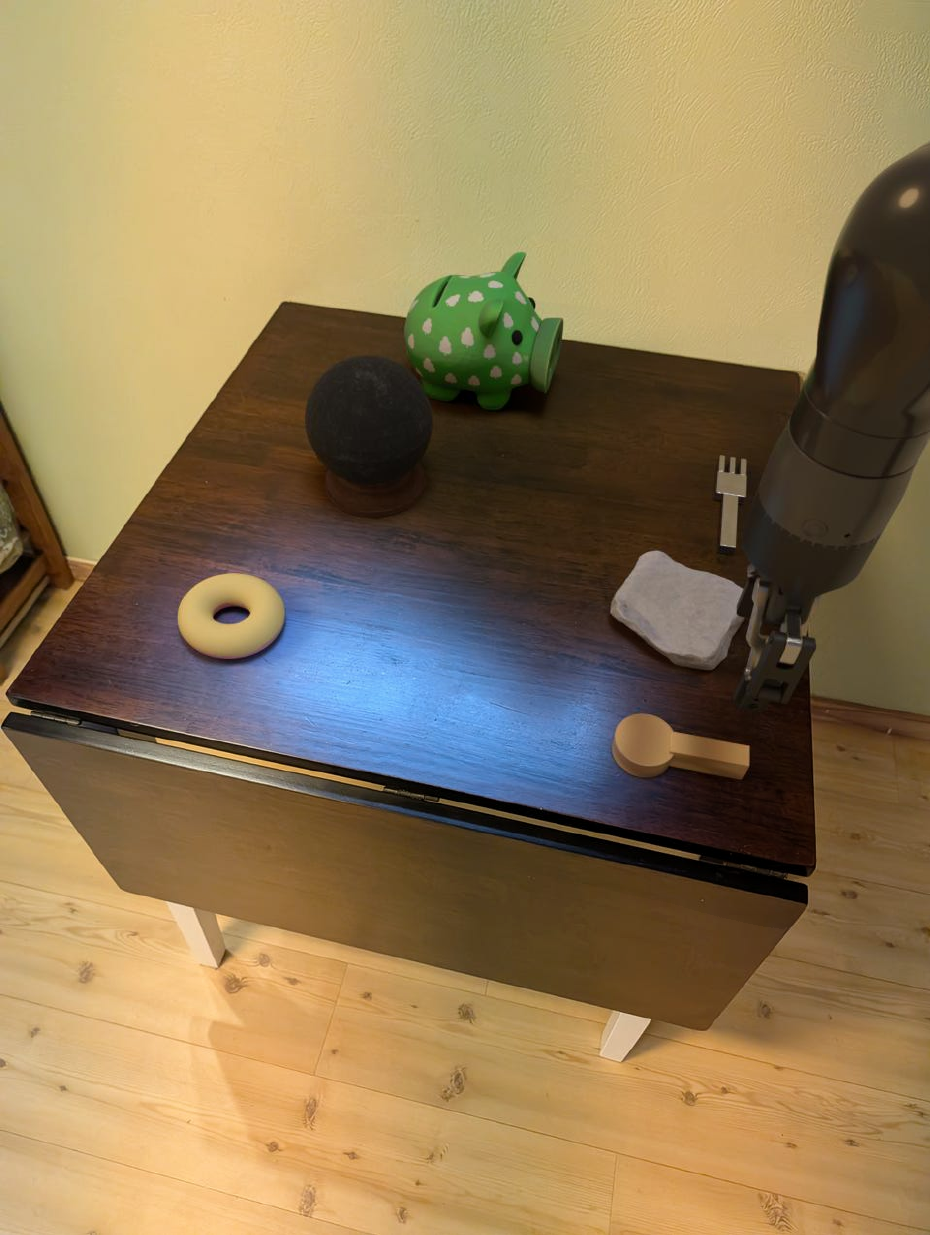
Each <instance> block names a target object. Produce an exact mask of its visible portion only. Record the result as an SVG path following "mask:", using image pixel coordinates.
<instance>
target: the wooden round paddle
mask: <svg viewBox="0 0 930 1235" xmlns="http://www.w3.org/2000/svg"><path fill="white" fill-rule="evenodd" d="M611 753H612V756H613V758H614V761H615V762H616V764H617V765H618V766H619V767H620V768H621V769H622V770H623V771H624V772H626V773H627V774H630V775H632V776H635V777H638V778H643V779H644V778H645V779H647V778H654V777H657V776H660V775H662V774H664V772H666V771H667V770H668V769H669V767H673V768H678V769H682V770H689V771H693V772H699V773H704V774H709V775H714V776H719V777H725V778H731V779H735V780H740V781H741V780H743V778H744V777H745V775H746V773H747V772H748V769H749V768H750V745H746V744H741V743H738V742H737V743H736V742H732V741H725V740H721V739H715V738H709V737H705V736H698V735H692V734H687V733H683V732H677V731H674V730H673V728H672V727H671V726H670V725H669V724H668V722H666V721H665V720H664V719H662V718H660V717H659V716H656V715H654V714H652V713H651V714H650V713H640V712H639V713H634V714H631V715H628V716H625V717H624V718H623V719H622V720H621V721H620V722H619V723H618V725H617V726H616V729H615V733H614V735H613V739H612V743H611Z"/></svg>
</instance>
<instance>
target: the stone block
mask: <svg viewBox="0 0 930 1235" xmlns="http://www.w3.org/2000/svg"><path fill="white" fill-rule="evenodd" d="M743 589H744V587H743V588H742V587H741V586H740V585H738V584H736V583H735V582H734V581H732V580H729V579H727V578H725V577H722V576H719V575H717V574H713V573H712V572H708V571H701V570H696V569H692V568H690V567H687V566H685V565H684V564H682V563H680V562H677V561H675V560H674V559H673V558H671V557H670V556H669V555H668V554H667V553H665V552H663V551H660V550H651V551H648V552H645V553H644V554H642V555H640V556H639V557H638V560H637V562H636V564H635V566H634V567H633V569H632V570H631V572H630V574H629V575H628V576H627V578H625V580H624V582H623V583H622V585H621V586H620V587H619V588H618V590H617V591H616V593H615V595H614V596H613V598H612V600H611V603H610V611H609V613H610V615H611V616H612V617H613V618H614V619H616V620H617V621H618V622H620V623H623V624H624V625H625V626H626V627H627V628H629V629H630V630H631V631H632V632H633V633H636V634H637V635H638V636H639V637H641V639H643V640H644V641H645V642H646V644H648V645H649V646H650V647H652V648H653V649H654V650H656V651H657V652H658V653H659V654H661V655H663V656H664V657H666V658H667V659H668V660H670V662H671V663H672V664H674V665H676V666H678V667H682V668H691V669H695V670H700V671H701V670H702V671H713V670H714V669H715V668H716V667H717V666H718V665H719V664H720V663H721V662H722V661H724V659H726V658H727V657H728V652H729V648H730V646H731V642H732V639H733V637H734V636H735V634H737V632H738V630H739V628H741V625H742V624H743V622H744V621H745V619H746V618H745V617H740V616H738V615H737V613H736V612H737V604H738V601H739V599H740V596H741V594H742V592H743Z"/></svg>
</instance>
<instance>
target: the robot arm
mask: <svg viewBox="0 0 930 1235" xmlns="http://www.w3.org/2000/svg"><path fill="white" fill-rule="evenodd" d="M837 236H838V237H837V239H836V240H835V244H834V246H833V249H832V251H831V255H830V259H829V263H828V265H827V269H826V270H827V271H826V276H825V280H824V286H823V293H822V299H821V305H820V312H819V317H818V318H819V319H818V324H817V332H816V352H815V355H814V358H813V360H812V362H811V364H810V366H809V368H808V371H807V372H806V376H805V379H804V382H803V383H802V387H801V389H800V391H799V395H798V397H797V399H796V402H795V404H794V407H793V409H792V412H791V415H790V417H789V419H788V421H787V423H786V425H785V427H784V429H783V430H782V432H781V433H780V435H779V437H778V438H777V440H776V442H775V444H774V445H773V448H772V450H771V453H770V456H769V458H768V460H767V463H766V465H765V469H764V471H763V474H762V477H761V479H760V482H759V484H758V486H757V489H756V492H755V494H754V497H753V499H752V502H751V504H750V507H749V510H748V512H747V516H746V518H745V520H744V523H743V526H742V528H741V532H740V533H741V534H740V540H741V546H742V550H743V552H744V554H745V556H746V558H747V560H748V561H749V563H748V564H749V565H747V568H746V573H747V580H746V582H745V584H744V587H743V592H742V594H741V596H740V599H739V601H738V604H737V612H736V613H737V615H738V616H740V617H745V618H744V619H749V623H748V626H747V630H746V631H747V632H746V635H745V641H746V642H747V644H748V645H749V647H750V651H749V654H748V655H749V656H748V659H747V664H746V667H744V671H743V674H742V677H741V679H740V681H739V682H738V684H737V687H736V689H735V691H734V694H733V696H732V698H733V701H732V702H733V703H732V705H733V706H734V707H735V708H738V709H739V710H744V711H748V712H755V713H758V714H761V713H762V712H764V711H765V710H766V708H767V707H768V705H769V703H770V702H771V703H772V702H773V703H778V704H783V705H787V704H788V703H789V701H790V700H791V697H792V696H793V693H794V692H795V690H796V687H797V686H798V684H799V682H800V680H801V678H802V677H803V675H804V673H805V671H806V669H807V667H808V665H809V664H810V661H811V659H812V657H813V655H814V653H815V652H816V649H817V641H816V638H815V637H812V636H807V634H808V630H809V626H810V623H811V619H812V617H813V616H814V615H816V613H817V612H818V609H819V604H820V601H821V596H822V595H825V594H827V593H830V592H832V591H836V590H839V589H842V588H844V587H846V586H847V585H849V584H850V583H852V582H853V581H854V580H855V579H856V578H857V577H858V576H859V575H860V573H861V571H862V570H863V568H864V566H865V565H866V563H867V561H868V560H869V558H870V555H871V554H872V552H873V550H874V549H875V547H876V545H877V543H878V542H879V540H880V539H881V537H882V535H883V533H884V532H885V529H886V528H887V526H888V524H889V523H890V521H891V519H892V517H893V516H894V514H895V512H896V510H897V509H898V507H899V505H900V504H901V501H902V500H903V498H904V496H905V495H906V491H907V489H908V487H909V484H910V481H911V479H912V475H913V474H914V470H915V468H916V466H917V464H918V461H919V459H920V458H921V456H922V454H923V453H924V451H925V449H926V447H927V445H928V444H929V442H930V140H928V141H927V142H925V143H923V144H922V145H921V146H918V147H917V148H915V149H914V150H913V151H911V152H909V153H907V154H905V155H904V156H902V157H900V158H899V159H897V160H896V161H894V162H892V164H889V165H888V166H886V167H885V168H884V169H883V170H882V171H880V172H879V173H878V174H877V175H876V177H874V178H873V179H872V180H871V181H870V183H868V185H867V186H866V187H865V188H864V190H863V191H861V194H860V195H859V197H858V198H857V199H856V201H855V202H854V204H853V205H852V208H851V210H850V211H849V213H848V214H847V216H846V219H845V221H844V223H843V225H842V227H841V228H840V231H839V233H838V235H837ZM762 625H764V626H767V627H772V628H777V629H780V630H772V631H771V633H770V635H766V634H765V635H764V634H761V633H760V632H761V631H760V630H761V626H762Z"/></svg>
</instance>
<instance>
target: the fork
mask: <svg viewBox="0 0 930 1235" xmlns="http://www.w3.org/2000/svg"><path fill="white" fill-rule="evenodd" d="M747 460H748V459H746V458H741V459H740V461H739V464H738V472H737V473H736V463H737V462H736V461H737V457H734V456H730V458H729V460H728V464H727V472H726V471H725V463H726V456H725V455H721V454H720V455H719V457H718V460H717V463H716V475H715V478H714V491H713V501H717V502H720V509H719V523H718V524H719V526H718V540H717V553H718V554H723V555H729V556H734V554H735V551H736V549H737V530H738V513H739V512H738V511H739V505H742V506H743V505H744V503H745V501H746V498H747V478H748V475H747V462H748V461H747Z"/></svg>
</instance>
